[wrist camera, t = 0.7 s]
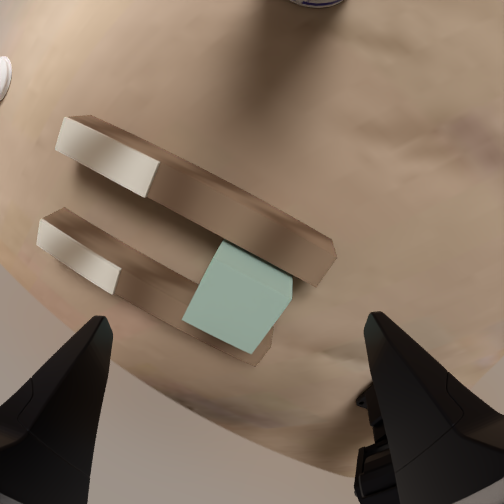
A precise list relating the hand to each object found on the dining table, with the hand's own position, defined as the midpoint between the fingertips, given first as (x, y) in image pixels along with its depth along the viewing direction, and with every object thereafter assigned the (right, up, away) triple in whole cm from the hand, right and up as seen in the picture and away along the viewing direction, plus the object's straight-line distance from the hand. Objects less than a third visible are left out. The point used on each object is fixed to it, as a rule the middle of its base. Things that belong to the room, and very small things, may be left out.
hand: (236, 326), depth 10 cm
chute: (-5, +4, +13) cm, 14 cm away
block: (0, +1, +13) cm, 13 cm away
